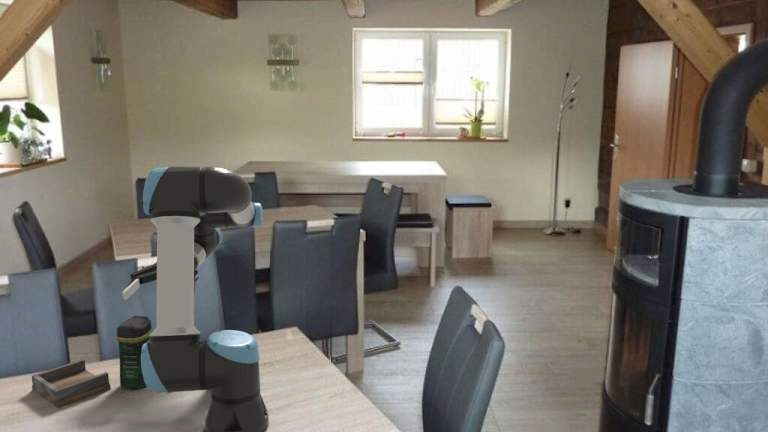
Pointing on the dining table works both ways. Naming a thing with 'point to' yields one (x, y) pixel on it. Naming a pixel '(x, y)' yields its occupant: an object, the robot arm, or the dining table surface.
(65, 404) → the rail dock
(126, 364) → the coffee jar
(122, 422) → the dining table surface
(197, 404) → the dining table surface
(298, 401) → the dining table surface
